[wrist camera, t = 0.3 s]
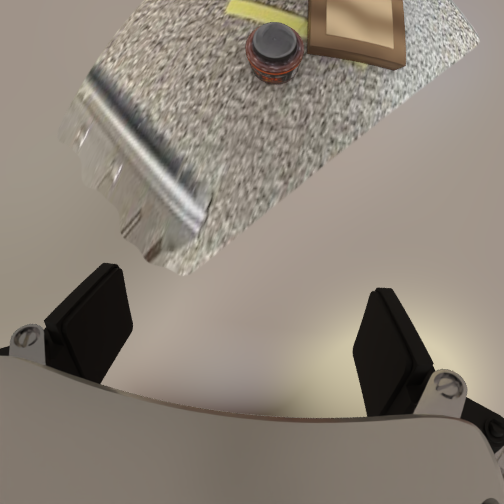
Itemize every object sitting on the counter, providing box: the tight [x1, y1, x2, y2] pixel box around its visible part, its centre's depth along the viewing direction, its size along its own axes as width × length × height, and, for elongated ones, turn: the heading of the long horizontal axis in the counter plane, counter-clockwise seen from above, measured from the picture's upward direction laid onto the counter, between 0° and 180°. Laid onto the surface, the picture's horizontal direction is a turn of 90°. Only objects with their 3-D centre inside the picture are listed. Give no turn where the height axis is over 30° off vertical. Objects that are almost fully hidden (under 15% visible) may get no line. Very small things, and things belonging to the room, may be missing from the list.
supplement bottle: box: [245, 22, 304, 84], centre depth 25 cm, size 6×6×11 cm
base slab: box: [307, 0, 406, 70], centre depth 25 cm, size 12×12×4 cm
